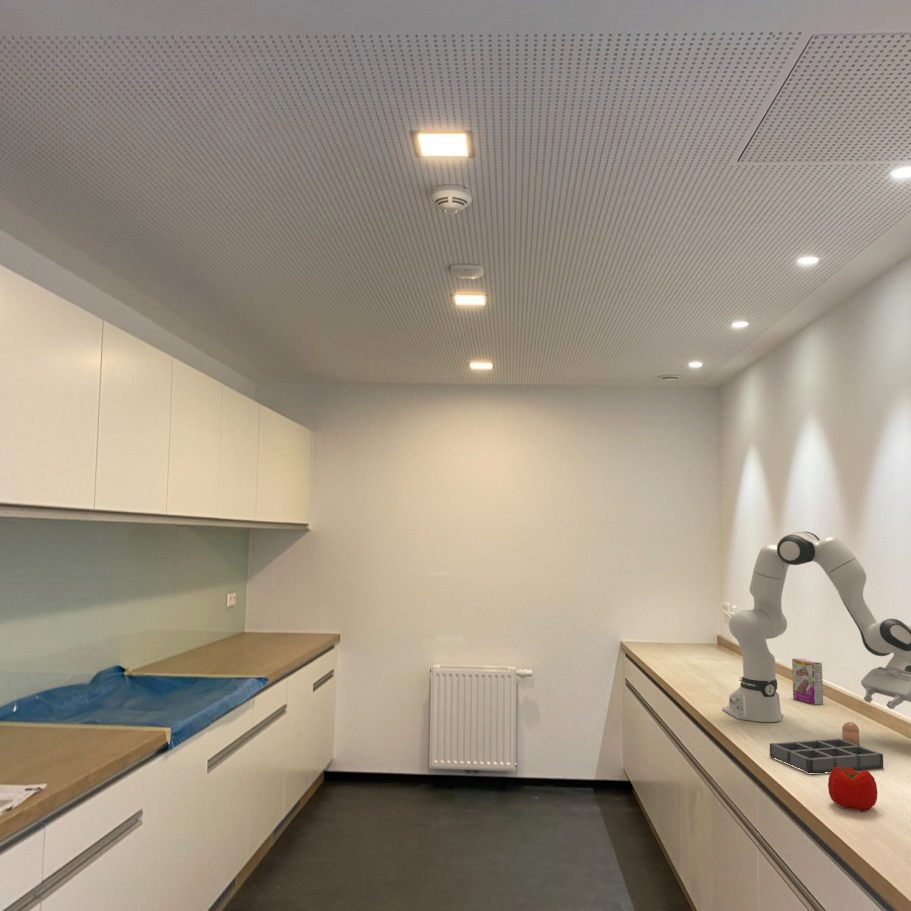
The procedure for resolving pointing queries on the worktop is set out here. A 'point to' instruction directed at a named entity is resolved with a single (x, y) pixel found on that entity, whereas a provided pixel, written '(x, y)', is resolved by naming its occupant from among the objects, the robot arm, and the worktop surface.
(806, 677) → the candy bar box
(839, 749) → the egg carton
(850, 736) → the terracotta egg
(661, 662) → the worktop surface
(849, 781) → the tomato
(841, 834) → the worktop surface
